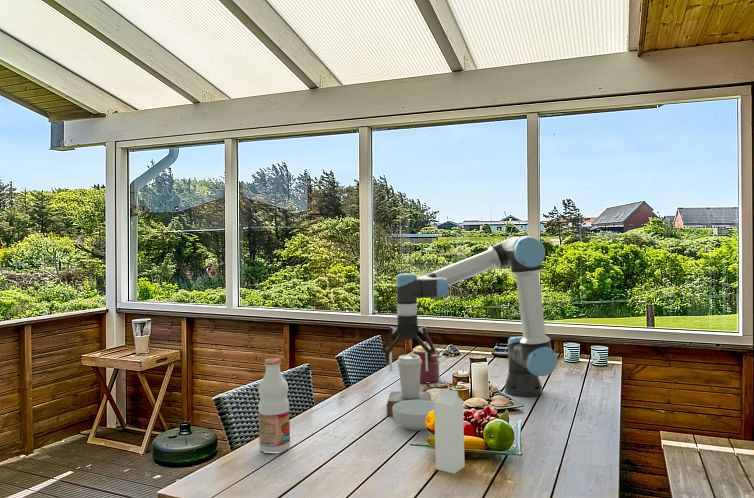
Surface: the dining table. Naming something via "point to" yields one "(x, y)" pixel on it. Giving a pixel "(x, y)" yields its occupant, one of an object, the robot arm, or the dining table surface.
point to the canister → (433, 365)
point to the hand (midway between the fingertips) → (408, 370)
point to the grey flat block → (397, 397)
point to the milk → (449, 431)
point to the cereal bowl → (412, 413)
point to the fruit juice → (273, 409)
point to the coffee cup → (409, 375)
